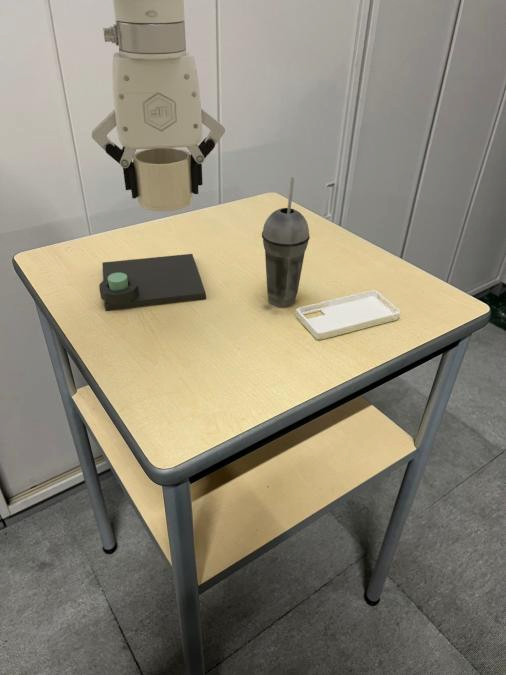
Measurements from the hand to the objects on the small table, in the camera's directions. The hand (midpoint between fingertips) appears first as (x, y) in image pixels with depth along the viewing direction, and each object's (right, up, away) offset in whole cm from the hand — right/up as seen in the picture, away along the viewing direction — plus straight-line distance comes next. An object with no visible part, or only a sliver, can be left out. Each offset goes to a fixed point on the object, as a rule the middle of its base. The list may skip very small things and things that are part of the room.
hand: (164, 191), depth 68 cm
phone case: (+27, -16, +13) cm, 34 cm away
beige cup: (0, -1, +1) cm, 1 cm away
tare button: (-10, -11, +13) cm, 20 cm away
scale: (-5, -10, +20) cm, 23 cm away
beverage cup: (+16, -13, +16) cm, 27 cm away
